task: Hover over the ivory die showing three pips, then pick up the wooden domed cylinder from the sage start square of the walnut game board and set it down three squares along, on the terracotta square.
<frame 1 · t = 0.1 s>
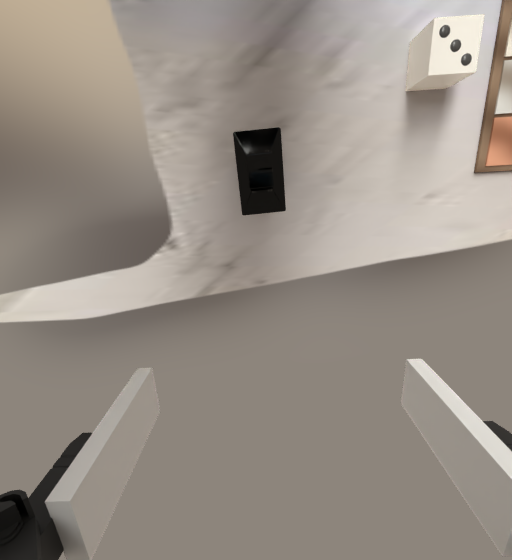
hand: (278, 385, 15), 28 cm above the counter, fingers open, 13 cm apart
die: (428, 66, 34), on the counter
dark piece: (260, 173, 38), on the counter
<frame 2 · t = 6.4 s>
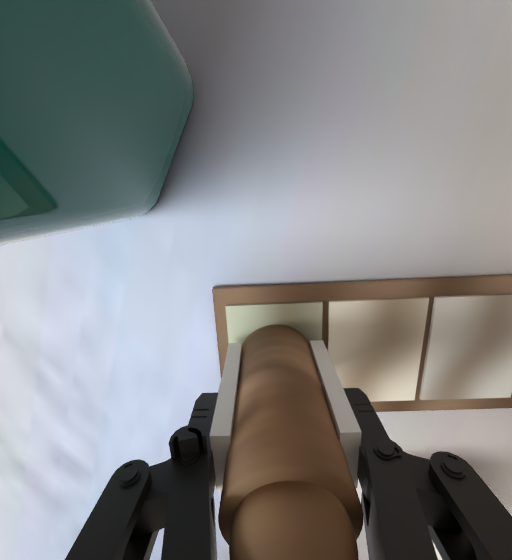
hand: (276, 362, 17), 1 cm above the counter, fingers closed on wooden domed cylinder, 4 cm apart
game board: (419, 347, 17), on the counter
pitcher: (87, 110, 14), on the counter
wooden domed cylinder: (275, 357, 17), point 1 cm above the counter, touching game board, gripper
when the fingers open (2 cm above the counter, at t = 12.0 s): wooden domed cylinder stays where it is, resting on game board.
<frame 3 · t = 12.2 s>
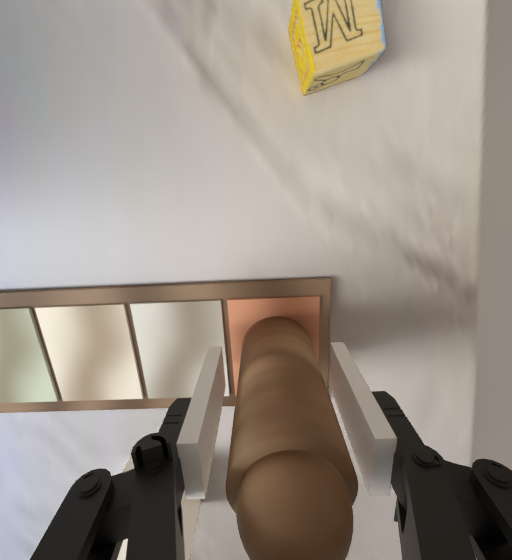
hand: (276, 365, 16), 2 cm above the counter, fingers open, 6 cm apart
game board: (140, 349, 19), on the counter
alphabet block: (324, 56, 14), on the counter
die: (166, 479, 22), on the counter
wooden domed cylinder: (276, 347, 18), point 1 cm above the counter, touching game board
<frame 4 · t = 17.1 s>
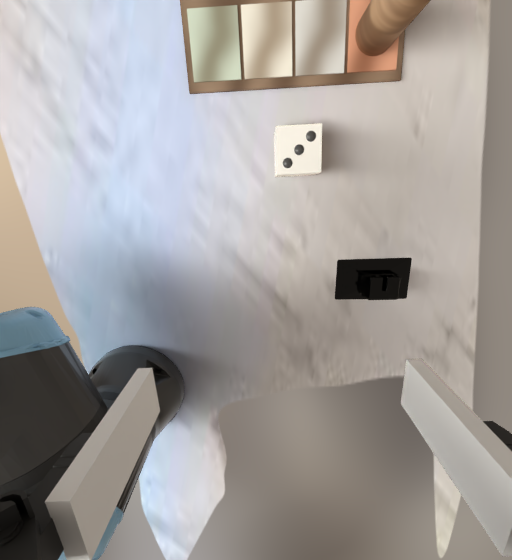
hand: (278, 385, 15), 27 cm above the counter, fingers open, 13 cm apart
game board: (293, 42, 32), on the counter
die: (293, 155, 36), on the counter
wooden domed cylinder: (375, 32, 31), point 1 cm above the counter, touching game board
dark piece: (370, 277, 41), on the counter
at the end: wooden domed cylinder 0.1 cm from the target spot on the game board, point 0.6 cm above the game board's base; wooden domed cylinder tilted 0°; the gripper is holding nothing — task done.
